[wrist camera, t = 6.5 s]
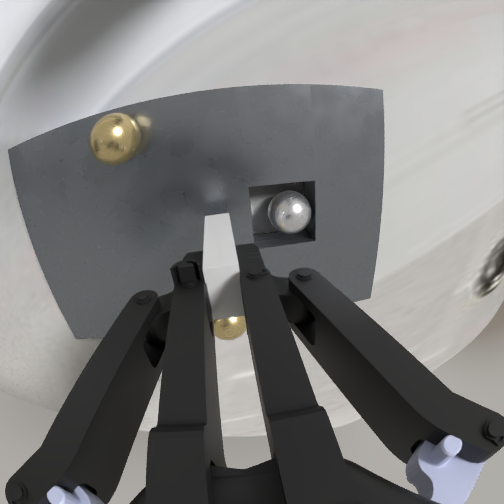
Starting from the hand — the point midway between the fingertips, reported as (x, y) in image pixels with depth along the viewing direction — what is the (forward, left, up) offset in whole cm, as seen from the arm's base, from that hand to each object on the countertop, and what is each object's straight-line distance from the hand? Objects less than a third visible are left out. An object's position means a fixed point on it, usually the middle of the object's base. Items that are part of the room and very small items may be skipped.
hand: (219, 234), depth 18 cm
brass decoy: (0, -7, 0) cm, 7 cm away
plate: (-1, 0, -4) cm, 4 cm away
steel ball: (+5, 0, -3) cm, 6 cm away
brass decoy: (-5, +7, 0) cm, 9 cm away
